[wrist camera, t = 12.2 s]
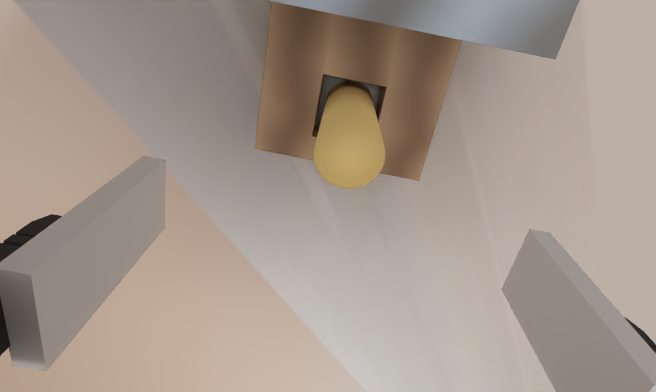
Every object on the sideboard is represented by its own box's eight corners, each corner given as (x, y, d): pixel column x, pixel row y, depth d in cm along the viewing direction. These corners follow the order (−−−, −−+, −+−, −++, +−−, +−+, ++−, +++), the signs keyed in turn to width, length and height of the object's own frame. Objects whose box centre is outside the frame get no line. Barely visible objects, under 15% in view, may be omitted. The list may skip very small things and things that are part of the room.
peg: (331, 75, 35) (320, 113, 22) (377, 84, 35) (393, 128, 22) (322, 121, 36) (308, 181, 24) (366, 129, 36) (375, 194, 24)
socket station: (257, 135, 37) (189, 227, 21) (285, -101, 30) (211, -223, 14) (418, 167, 38) (466, 279, 22) (485, -58, 30) (631, -131, 14)
